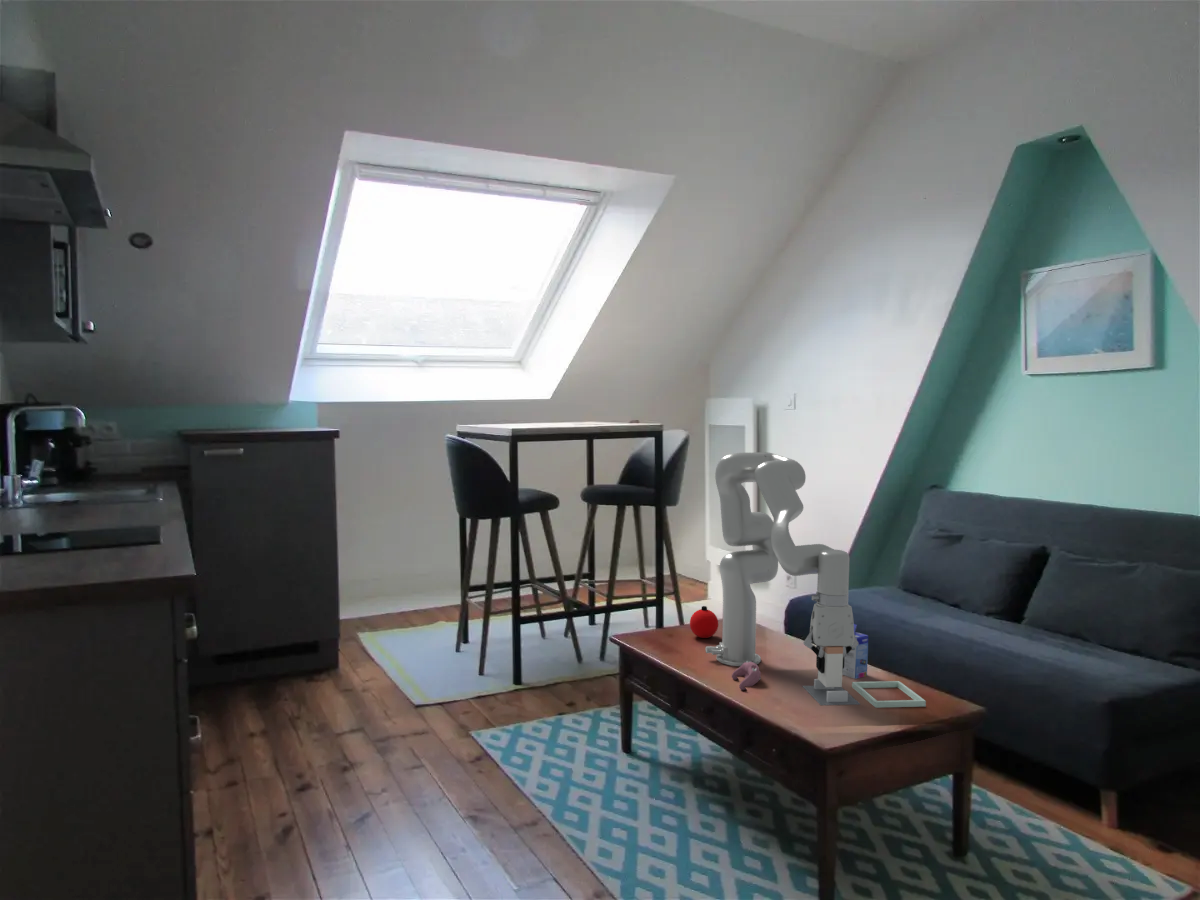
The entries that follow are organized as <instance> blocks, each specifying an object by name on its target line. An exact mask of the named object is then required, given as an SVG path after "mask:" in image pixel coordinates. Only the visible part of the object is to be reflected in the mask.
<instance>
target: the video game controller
mask: <svg viewBox="0 0 1200 900" xmlns="http://www.w3.org/2000/svg"><path fill="white" fill-rule="evenodd" d="M761 672H762V671H760V668H759V666H758V664H755V663H753V662H748V661H746V662H745V663H743V664H742V666H738V668H737V669H735V670H734V671H733V672H732V673H731V678H732V680H735V681H737V680H739V677H744V679H743V680H742V681H741V682H740V683H739V690H741V691H747V688H746V687H753V686H754V685H756V684H757V683H758V682H759V681H760V680H761V678H762V677H761V676H762V674H761Z"/></svg>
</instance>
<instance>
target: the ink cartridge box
mask: <svg viewBox="0 0 1200 900" xmlns="http://www.w3.org/2000/svg"><path fill="white" fill-rule="evenodd" d="M857 626H858V624H855V623H854V636H855V638H856V640H857V641H858V643H859V644H858V645H857V646H856V647H854V648H852V650H851V651H850V652H849V653H848V654H847V656H846V657H845V659H844V669H843V673H842V676H845V677H848V678H850V679H855V680H856V679H860V678H864V677H867V676H868V659H869V658H868V656H869V635H868V634H865V633H860V632H856V631H857V628H858V627H857Z"/></svg>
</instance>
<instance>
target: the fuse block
mask: <svg viewBox="0 0 1200 900" xmlns="http://www.w3.org/2000/svg"><path fill="white" fill-rule="evenodd" d="M801 687H802V688H803V689H804V690H805V691H806V692H807V693H808V694H809V695H810V696H811V697H812V698H813V699H814V700H815V701H816V702H817V703H818V704H819V706H851V705H857V706H858V705H861V703H860V702H859V701H858V700H857V699H856V698H855V697H853V696H852V695H851V694H850V693H849V691H848V690H846V689H844V688H843V686H842V687H825V686H824V685H823V684H822V683H821V682H820V681H819V680H818V678H814V679H813V685H802V686H801Z"/></svg>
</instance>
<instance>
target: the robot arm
mask: <svg viewBox="0 0 1200 900" xmlns="http://www.w3.org/2000/svg"><path fill="white" fill-rule="evenodd" d="M714 474H715V476H714V478H715V484H716V489H717V492H718V495H719V502H720V517H721V530H722V531H721V533H722V537H723V540H724V542H725V544H726V545H728V546H730V547H749V546H752V549H750V550H749V549H748V550H746V549H745V550H738V551H732V552H729V553H727V554H725V555H724V556H723V557H722V559H721V561H720V562H719V573H720V578H721V579H720V580H721V587H722V625H721V626H722V629H721V630H722V631H721V635H722V636H721V637H722V639H721V641H720V642H719V644H718V645H716V646H712V645H707V646H705V653H706V654H711V655H712V656H713V655H714V656H715V655H716V661H718V662H719V663H721V664H724V665H727V666H732V667H740V666H742V664H743V663H745V662H746V661H748V662H753V663H755V664H757V665H758V664H760V663H761V661H762V660H761V656H760V655H759V654H758V653H756V644H757V643H756V642H757V641H756V638H757V636H756V635H757V632H756V631H757V598H756V595H755V593H754V591H753V589H752V587H751V585H753V584H759V583H765V582H770V581H772V580H774V579H775V578H776V576H777V574H778V571H779V565H780V567H781V569H783V571H784V572H785V573H786V574H788V575H790V576H793V577H798V576H807V575H817V584H816V585H817V586H816V587H817V588H816V590H817V591H816V592H815V593H816V594H812V595H811V601H814V602H815V603H814V605H813V609H812V613H811V617H810V625H809V626H810V627H809V633H808V635H807V636H806V638H805V639H804V640H803V643H802V644H803V645H804V646H805V647H806V648H809V650H811V651H812V652H813V653H814V654H815V655H816V661H815V662H816V665H815V666H816V669H817V671H818V670H819V671H820V672H821V673H824V669H825V658H824V657H823V656H824V655H823V654H824V650H825V647H843V667H842V673H843V669H844V659H845V657H846V656H847V654H848V653H849V652H850V651H851V650H852V648H854V647H856V646H857V645H858V644H859V643H858V641H857V640H856V638H855V636H854V624H855V622H854V614H853V608H852V605H850V604H849V586H850V584H849V583H850V579H849V578H850V555H849V553H848V552H846V551H845V550H843V549H841V550H840V549H834V548H832V547H829V546H828V545H826V544H823V543H822V544H821V543H814V544H803V545H796V544H795V543H794V540H793V538H792V535H791V534H790V528H789V523H790V522H793V521H794V520H795V519H797V518H798V517H799V516H800V515H801V514H802V513H803V511H804V504H803V502H802V500H801V498H800V496H799V494H798V492H797V490H800V489H802V487H803V486H804V485H805V483H806V477H807V476H806V472H805V469H804V467H803V466H802V464H800V463H799V462H798V461H796V460H795V459H792V458H789V457H785V456H782V455H779V454H777V453H773V452H766V451H765V452H764V451H763V452H757V451H756V452H735V453H734V452H733V453H730V454H726V455H725V456H722V457H721V459H720V460H719V461H718V463H716V468H715V473H714ZM743 483H756V485H757V486H758V489H759V491H760V492H761V494H762V497H763V499H764V501H765V503H766V505H767V507H768V509H769V512H770V514H771V516H772V517H773V519H772V518H771V516H770V515H769V514H767V513H765V512H762V511H754V512H753V511H752V508H751V499H750V495H749V494H748V491H747V490H746V488H745V487H744V485H743ZM814 644H815V645H814Z"/></svg>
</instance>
